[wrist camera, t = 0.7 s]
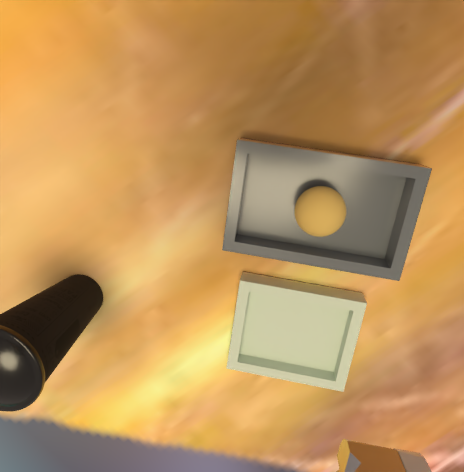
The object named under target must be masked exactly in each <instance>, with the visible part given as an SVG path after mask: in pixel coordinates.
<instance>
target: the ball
mask: <svg viewBox="0 0 464 472" xmlns="http://www.w3.org/2000/svg"><path fill="white" fill-rule="evenodd" d="M345 217H346V205H345V202H344V199H343V198H342V196H341V195H340V194H339V193H338V192H337V191H335V190H334V189H332V188H330V187H326V186H316V187H312V188H310V189H308V190H306V191H305V192H303V193H302V194H301V195H300V197H299V198H298V200H297V202H296V205H295V219H296V221H297V224H298V225H299V227H300V228H301V229H302V230H303V231H304V232H306V233H307V234H309V235H312V236H317V237H323V236H328V235H331V234H333V233H335V232H336V231H337V230H338V229H339V228H340V227H341V226H342V224H343V223H344V220H345Z"/></svg>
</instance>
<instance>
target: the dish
mask: <svg viewBox="0 0 464 472" xmlns="http://www.w3.org/2000/svg"><path fill="white" fill-rule="evenodd" d="M431 170H432V168H429V167H426V166H424V165H421V164H416V163H409V162H402V161H395V160H389V159H382V158H375V157H368V156H362V155H355V154H348V153H341V152H335V151H328V150H321V149H314V148H307V147H301V146H294V145H287V144H280V143H274V142H267V141H260V140H253V139H247V138H240V139H238V140H237V145H236V152H235V160H234V167H233V174H232V182H231V189H230V197H229V204H228V212H227V219H226V226H225V234H224V241H223V249H222V250H224V251H230V252H236V253H242V254H248V255H253V256H259V257H265V258H271V259H276V260H282V261H288V262H294V263H299V264H305V265H311V266H317V267H322V268H328V269H334V270H340V271H345V272H351V273H357V274H363V275H368V276H374V277H380V278H386V279H391V280H397V281H399V280H400V277H401V273H402V270H403V267H404V263H405V260H406V256H407V253H408V249H409V246H410V242H411V239H412V235H413V232H414V228H415V225H416V222H417V218H418V215H419V211H420V208H421V204H422V201H423V197H424V194H425V190H426V187H427V184H428V180H429V177H430V173H431ZM316 186H326V187H330V188H332V189H334V190H335V191H337V192H338V193H339V194H340V195H341V196H342V198H343V199H344V202H345V205H346V217H345V220H344V223H343V224H342V226H341V227H340V228H339V229H338V230H337V231H336V232H335V233H333V234H331V235H328V236H323V237H317V236H312V235H309V234H307V233H306V232H304V231H303V230H302V229H301V228H300V227H299V225H298V224H297V221H296V219H295V205H296V202H297V200H298V198H299V197H300V195H301V194H302V193H303V192H305V191H306V190H308V189H310V188H312V187H316Z"/></svg>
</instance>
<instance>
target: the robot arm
mask: <svg viewBox="0 0 464 472" xmlns="http://www.w3.org/2000/svg"><path fill="white" fill-rule="evenodd" d="M337 458H338V463H339V470H338V471H337V472H431V470H430V468H429V466H428V464H427V462H426V460H425V458H424V457H423V456H422V455H421V454H420V453H416V452H411V451H405V450H400V449H390V448H385V447H380V446H376V445H371V444H366V443H361V442H356V441H351V440H346V439H343V440H342V442H341V444H340V447H339V451H338V454H337Z"/></svg>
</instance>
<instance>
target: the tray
mask: <svg viewBox="0 0 464 472" xmlns="http://www.w3.org/2000/svg"><path fill="white" fill-rule="evenodd" d="M366 305H367V302H366V300H365V297H364V295H363V293H361V292H355V291H350V290H344V289H338V288H333V287H327V286H321V285H316V284H310V283H305V282H299V281H293V280H288V279H282V278H276V277H271V276H265V275H259V274H254V273H248V272H242V275H241V279H240V284H239V290H238V297H237V303H236V310H235V316H234V323H233V330H232V336H231V343H230V349H229V356H228V362H227V369H232V370H237V371H242V372H247V373H252V374H257V375H262V376H267V377H272V378H277V379H282V380H287V381H292V382H297V383H302V384H307V385H312V386H317V387H322V388H327V389H332V390H337V391H342V392H343V391H344V388H345V384H346V380H347V376H348V373H349V369H350V365H351V361H352V358H353V354H354V350H355V346H356V343H357V339H358V335H359V331H360V328H361V324H362V320H363V316H364V313H365V309H366Z"/></svg>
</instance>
